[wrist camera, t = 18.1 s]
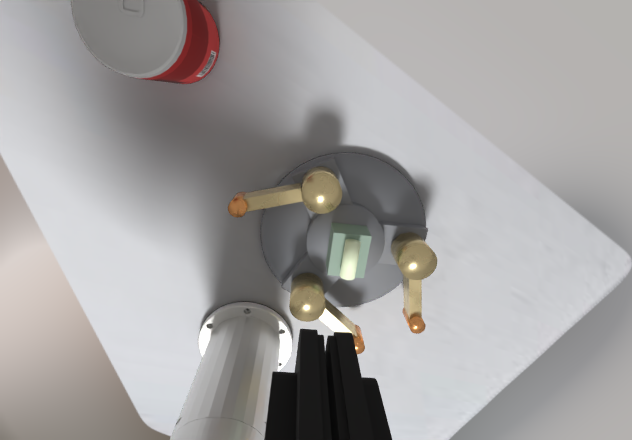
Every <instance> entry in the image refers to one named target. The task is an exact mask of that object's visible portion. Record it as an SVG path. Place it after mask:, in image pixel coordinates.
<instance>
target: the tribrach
mask: <svg viewBox="0 0 632 440" xmlns="http://www.w3.org/2000/svg"><path fill="white" fill-rule="evenodd" d="M319 166H322V167H327V168H329V169H330V170H332V171H333V172H334V173H335V175H336V176H337V179H338V181H339V183H340V186H341V189H342V199H341V202H340V204H339V205H338V206H337V208H335V209H334V210H333V211H331V212H329V213H325V214H318V213H314V212H312V211H310V210H309V209H308V208H307V207H306V206H305V205H304V203H303V202H297V203H292V204H286V205H281V206H275V207H270V208H265V211H264V214H263V218H262V224H261V243H262V249H263V253H264V256H265V259H266V261H267V263H268V266H269V268H270V269H271V271H272V272H273V274H274V275H275V277H276V278H277V279H278V280H279V281H280V283H282V286H281V287H282V288H283V289H285V290H287V291H288V292H290V293H291V283H292V281H293V280H294V278H295V277H297V276H298V275H300V274H303V273H312V274H315V275H317V276H318V277H319V278H320V279H321V280H322V282H323V286H324V296H325V298H326V299H327V300H328V301H329V302H330V303H331V304H332V305H333V306H335V307H348V306H355V305H360V304H364V303H367V302H371V301H373V300H375V299H378V298H380V297H382V296H384V295H385V294H387V293H389V292H390V291H392V290H393V289H394V288H396V287H397V286H398V285H399V284H400V283H401V282H402V281H403V274H402V272H401V270H400V268H399V267H398V265H397V263H396V261H395V259H394V258H393V256H392V254H391V245H392V243H393V241H394V240H395V238H396V237H398V236H399V235H401V234H403V233H407V232H412V233H416V234H418V235H419V236H420V237H421V238H422V239H423V240H424V241H425V239H426V235H427V231H428V229H427V228H426V221H425V213H424V209H423V205H422V203H421V200H420V198H419V196H418V194H417V192H416V191H415V189H414V187H413V186H412V185H411V183H410V182H409V181H408V180H407V179H406V178H405V177H404V176H403V175H402V174H401V173H400V172H399V171H398V170H396V169H395V168H393V167H392V166H390V165H389V164H387V163H385V162H383V161H381V160H379V159H377V158H374V157H371V156H368V155H363V154H357V153H334V154H329V155H324V156H320V157H318V158H315V159H312V160H310V161H308V162H306V163H304V164H302V165H300V166H299V167H297V168H296V169H294V170H293V171H292V172H290V173H289V174H288V175H287V176H286V177H285V178H284V179H283V180H282V181H281V182H280V183H279V185H278V186H277V187H280V186H286V185H291V184H296V183H301V186H302V180H303V177H304V175H305V174H306V173H307V172H308V171H309V170H310V169H312V168H314V167H319Z"/></svg>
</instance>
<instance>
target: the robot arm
mask: <svg viewBox="0 0 632 440" xmlns="http://www.w3.org/2000/svg"><path fill="white" fill-rule="evenodd" d="M198 346H199V350H200V353H201V355H202V360H201V362H200V365H199V367H198V370H197V373H196V375H195V378H194V380H193V383H192V385H191V388H190V390H189V393H188V395H187V398H186V400H185V403H184V405H183V408H182V410H181V413H180V415H179V418H178V420H177V423H176V425H175V428H174V430H173V433H172V436H171V438H170V440H392V437H391V433H390V429H389V425H388V422H387V418H386V414H385V410H384V406H383V402H382V398H381V394H380V390H379V386H378V383H377V381H376V379H375V378H362V377H361V373H360V368H359V363H358V358H357V353H356V348H355V343H354V338H353V334H352V333H350V332H336V331H335V332H334V336H328V338H327V344H326V350H325V347H324V336H323V335H318V333H317V330H310V329H300V334H299V342H298V350H297V358H296V366H295V373H288V372H278V371H279V370H280V369H281V368H283V366H284V365H285V364H286V363H287V361H288V359H289V357H290V355H291V350H292V334H291V331H290V328H289V326H288V325H287V323H286V321H285V320H284V319H283V318H282V317H281V316H280V315H279V314H278V313H276V312H275V311H274V310H272V309H270V308H268V307H266V306H264V305H260V304H257V303H250V302H237V303H232V304H228V305H225V306H223V307H220V308H219V309H217V310H216V311H214V312H213V313H212V314H211V315H210V316H209V317H208V318H207V319H206V320H205V322H204V323H203V326H202V328H201V330H200V333H199V338H198Z"/></svg>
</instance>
